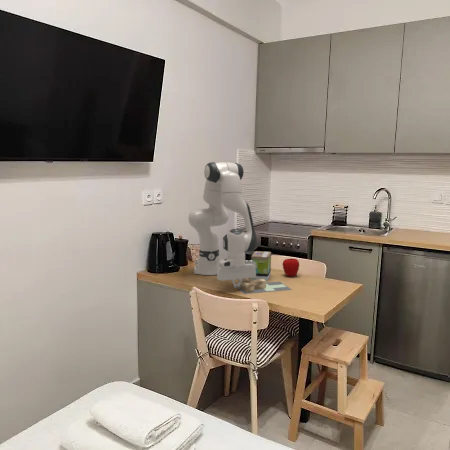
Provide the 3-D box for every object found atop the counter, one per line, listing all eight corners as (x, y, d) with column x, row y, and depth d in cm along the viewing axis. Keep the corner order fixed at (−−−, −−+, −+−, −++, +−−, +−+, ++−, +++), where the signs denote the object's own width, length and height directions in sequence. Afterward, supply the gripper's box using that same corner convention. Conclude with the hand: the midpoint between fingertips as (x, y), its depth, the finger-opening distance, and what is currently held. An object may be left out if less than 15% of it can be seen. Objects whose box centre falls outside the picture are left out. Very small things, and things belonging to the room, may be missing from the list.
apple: (294, 273, 252) (294, 255, 251) (302, 277, 243) (302, 258, 242) (279, 274, 249) (279, 256, 248) (286, 278, 240) (287, 260, 239)
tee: (246, 292, 212) (246, 284, 211) (239, 286, 223) (239, 278, 223) (268, 290, 215) (268, 283, 215) (260, 284, 227) (260, 277, 226)
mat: (234, 286, 225) (234, 285, 225) (279, 282, 232) (279, 281, 232) (244, 295, 210) (244, 294, 209) (292, 291, 216) (292, 289, 216)
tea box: (268, 282, 232) (268, 256, 230) (250, 282, 234) (250, 256, 232) (271, 275, 247) (271, 251, 245) (254, 275, 249) (254, 250, 247)
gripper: (253, 258, 220) (253, 284, 222) (215, 261, 215) (216, 287, 217) (257, 261, 214) (257, 287, 216) (219, 263, 209) (219, 290, 211)
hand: (236, 287), depth 216 cm, fingers closed
